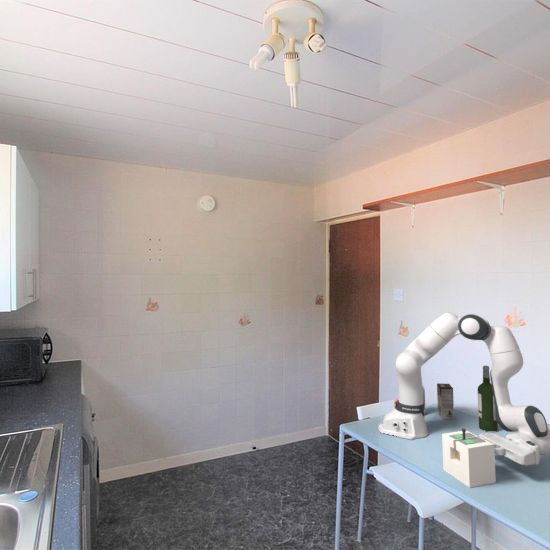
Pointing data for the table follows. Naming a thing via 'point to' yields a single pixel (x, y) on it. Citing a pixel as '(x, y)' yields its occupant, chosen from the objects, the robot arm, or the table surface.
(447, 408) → the coffee box
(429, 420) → the table surface
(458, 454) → the peg
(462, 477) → the tuner housing
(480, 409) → the wine bottle
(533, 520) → the table surface
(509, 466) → the table surface
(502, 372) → the robot arm
